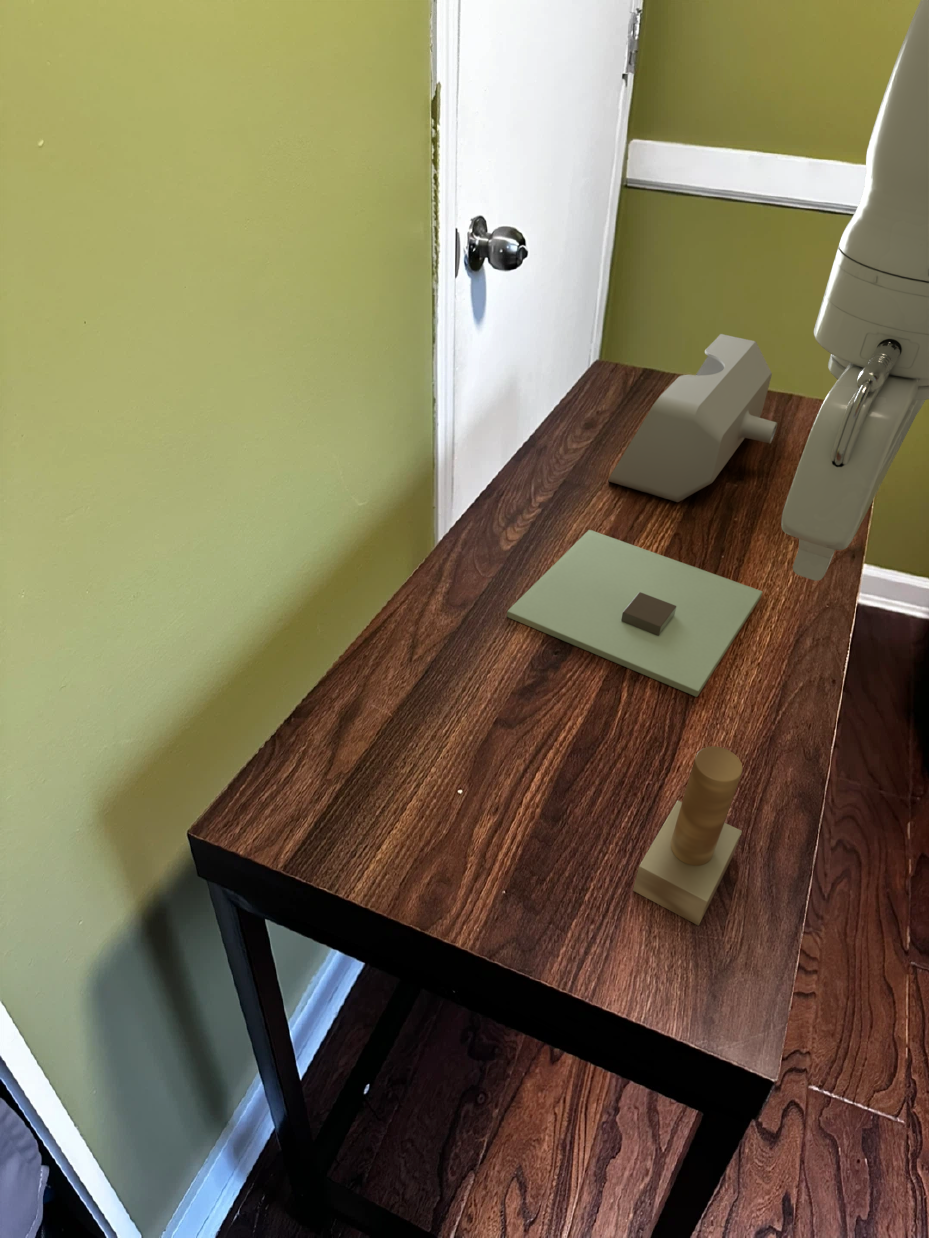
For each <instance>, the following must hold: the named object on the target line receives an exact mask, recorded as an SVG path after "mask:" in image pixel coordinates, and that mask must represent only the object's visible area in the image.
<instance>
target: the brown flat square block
mask: <svg viewBox="0 0 929 1238" xmlns="http://www.w3.org/2000/svg"><path fill="white" fill-rule="evenodd" d="M675 611H676V605H673V604H670V603H668V602H665V601H662V600H660V599H657V598H655V597H652V596H649V595H647V594H644V593H641V592H639V593H638V594H637V596H636V597H635V598H634V599H633V600H632V602H631V603H630V604H629V605H628V606H627V608H626V609H625V610H624V611H623V613H622V619H621V621H622V622H625V623H627V624H630V625H632V626H635V627H637V628H640V629H642V630H645V631H647V632H650V633H652V634H655V635H657V636H659V635H660V634H661V632H662V631H663V630H664V628H665V627H666V626H667V624H668V623H669V622H670V620H671V619H672V618H673V616H674V615H675Z"/></svg>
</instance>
